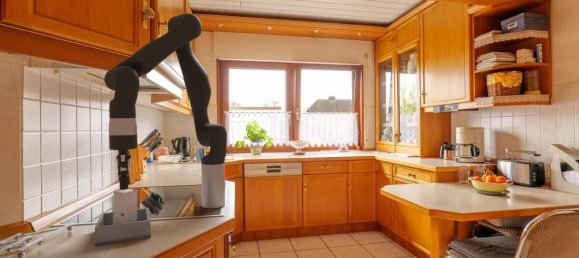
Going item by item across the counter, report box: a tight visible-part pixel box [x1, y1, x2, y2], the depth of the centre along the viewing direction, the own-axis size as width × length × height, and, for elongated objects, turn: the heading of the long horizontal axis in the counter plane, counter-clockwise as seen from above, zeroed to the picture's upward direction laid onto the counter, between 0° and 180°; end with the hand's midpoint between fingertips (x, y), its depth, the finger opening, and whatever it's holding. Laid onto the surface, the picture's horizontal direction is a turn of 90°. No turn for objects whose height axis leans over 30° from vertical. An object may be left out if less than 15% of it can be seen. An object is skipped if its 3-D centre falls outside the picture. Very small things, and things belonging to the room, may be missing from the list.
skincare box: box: [112, 188, 138, 225], centre depth 90 cm, size 6×4×12 cm
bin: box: [94, 207, 152, 247], centre depth 90 cm, size 16×14×5 cm
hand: (124, 186), depth 90 cm, fingers open, 8 cm apart
